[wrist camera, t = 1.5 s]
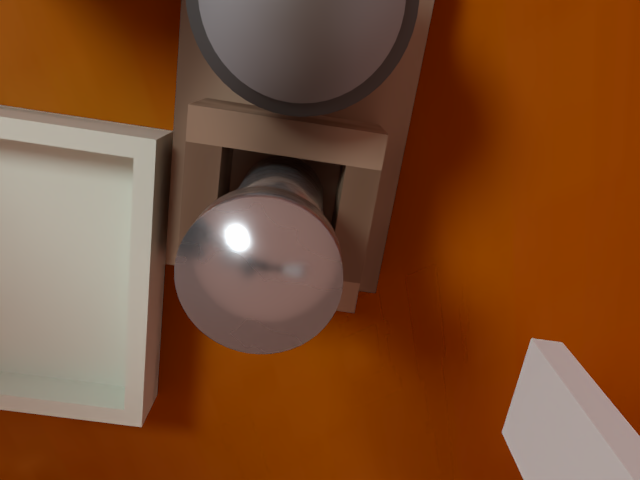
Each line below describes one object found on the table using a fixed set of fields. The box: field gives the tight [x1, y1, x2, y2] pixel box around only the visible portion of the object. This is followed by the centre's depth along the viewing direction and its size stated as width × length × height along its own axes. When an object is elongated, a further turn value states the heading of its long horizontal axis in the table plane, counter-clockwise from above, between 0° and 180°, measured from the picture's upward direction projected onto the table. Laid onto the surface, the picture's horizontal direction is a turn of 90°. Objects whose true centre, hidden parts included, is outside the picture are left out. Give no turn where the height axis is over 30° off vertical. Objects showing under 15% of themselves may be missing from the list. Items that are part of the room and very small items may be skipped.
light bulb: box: [174, 155, 343, 354], centre depth 21 cm, size 5×5×10 cm
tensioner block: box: [165, 0, 435, 313], centre depth 23 cm, size 11×17×8 cm, turn 171°
